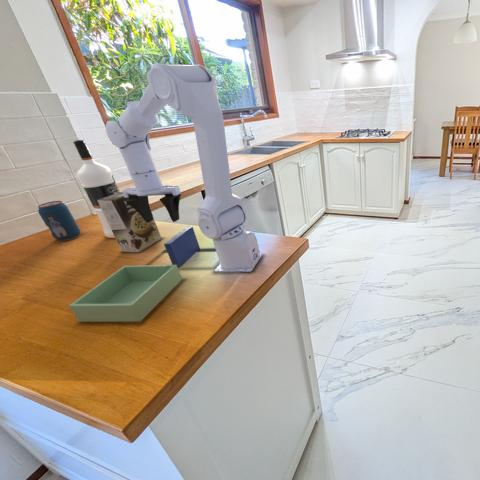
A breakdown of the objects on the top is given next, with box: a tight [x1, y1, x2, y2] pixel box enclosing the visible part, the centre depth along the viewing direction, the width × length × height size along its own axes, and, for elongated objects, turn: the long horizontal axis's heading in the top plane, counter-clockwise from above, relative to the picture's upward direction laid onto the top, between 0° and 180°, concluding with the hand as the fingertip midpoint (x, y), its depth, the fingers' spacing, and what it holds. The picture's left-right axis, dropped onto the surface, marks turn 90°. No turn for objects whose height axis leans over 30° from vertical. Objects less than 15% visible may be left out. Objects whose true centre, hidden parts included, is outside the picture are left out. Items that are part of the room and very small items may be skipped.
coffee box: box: [97, 191, 163, 253], centre depth 84 cm, size 9×6×16 cm
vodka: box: [72, 139, 121, 239], centre depth 90 cm, size 9×9×30 cm
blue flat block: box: [164, 226, 201, 269], centre depth 77 cm, size 2×10×7 cm, turn 176°
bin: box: [68, 264, 183, 323], centre depth 63 cm, size 13×14×4 cm
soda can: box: [37, 200, 82, 242], centre depth 95 cm, size 7×7×12 cm
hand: (163, 220), depth 79 cm, fingers open, 7 cm apart
